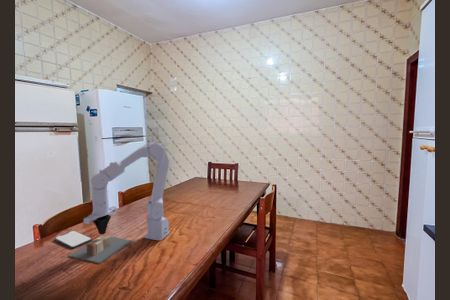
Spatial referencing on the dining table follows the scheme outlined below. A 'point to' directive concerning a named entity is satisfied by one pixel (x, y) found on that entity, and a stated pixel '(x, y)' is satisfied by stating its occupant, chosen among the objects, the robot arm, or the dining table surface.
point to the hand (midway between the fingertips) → (102, 233)
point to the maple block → (98, 245)
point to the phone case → (73, 239)
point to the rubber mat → (104, 254)
